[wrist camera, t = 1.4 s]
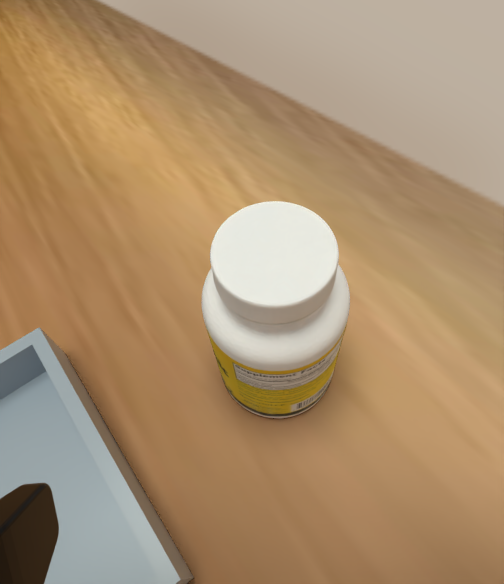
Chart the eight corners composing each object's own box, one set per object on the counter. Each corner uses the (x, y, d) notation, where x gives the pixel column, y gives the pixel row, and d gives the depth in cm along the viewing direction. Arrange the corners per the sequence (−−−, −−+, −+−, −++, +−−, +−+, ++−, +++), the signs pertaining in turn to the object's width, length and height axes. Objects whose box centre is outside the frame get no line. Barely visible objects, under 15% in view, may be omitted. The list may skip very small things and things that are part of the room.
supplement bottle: (230, 311, 24) (206, 176, 16) (334, 323, 24) (368, 189, 15) (210, 413, 22) (169, 316, 13) (328, 429, 21) (363, 338, 13)
